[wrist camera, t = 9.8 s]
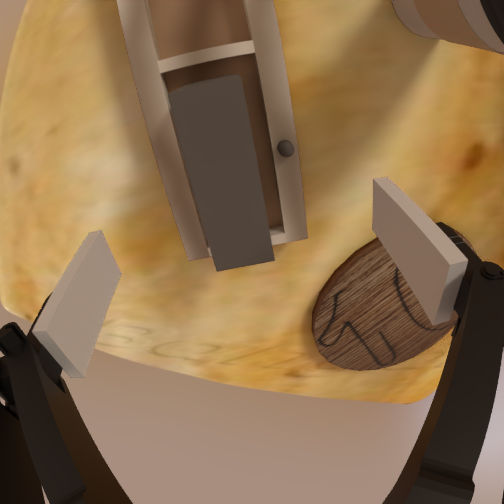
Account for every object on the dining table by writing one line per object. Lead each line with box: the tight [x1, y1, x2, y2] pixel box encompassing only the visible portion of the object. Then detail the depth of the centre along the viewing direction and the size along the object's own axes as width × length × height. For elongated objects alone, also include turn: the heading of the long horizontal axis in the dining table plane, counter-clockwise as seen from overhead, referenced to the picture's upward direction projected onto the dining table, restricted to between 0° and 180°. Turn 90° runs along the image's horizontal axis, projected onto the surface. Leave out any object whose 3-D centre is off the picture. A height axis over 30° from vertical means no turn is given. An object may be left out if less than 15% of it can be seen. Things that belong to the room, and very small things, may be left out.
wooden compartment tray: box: [117, 0, 308, 261], centre depth 20 cm, size 11×34×4 cm, turn 10°
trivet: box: [312, 229, 477, 371], centre depth 38 cm, size 25×25×2 cm
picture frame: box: [168, 74, 275, 271], centre depth 22 cm, size 4×12×8 cm, turn 10°
